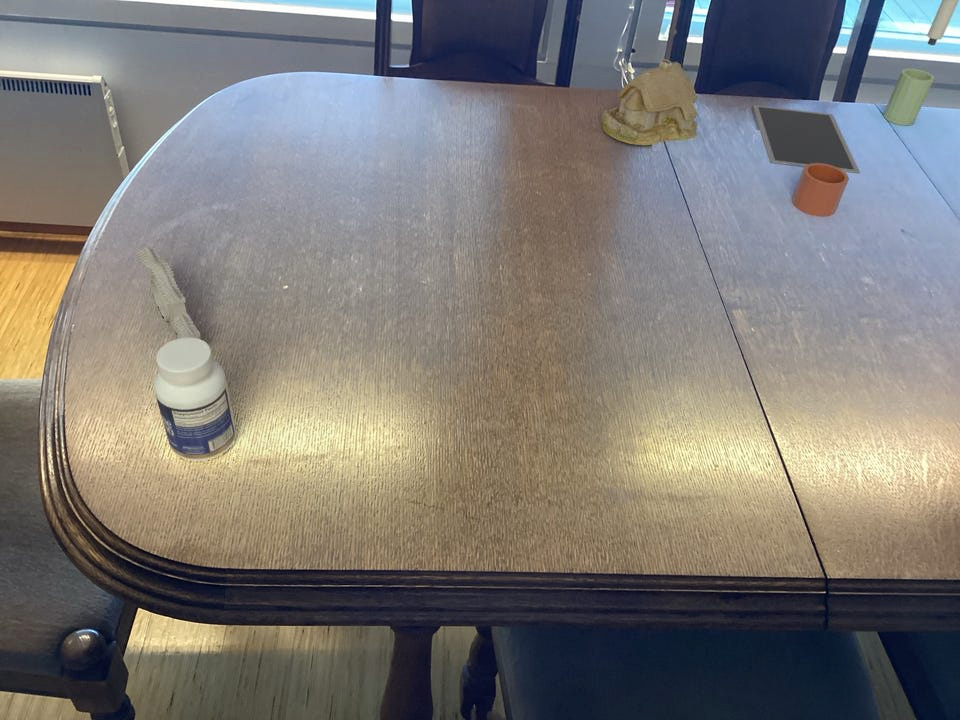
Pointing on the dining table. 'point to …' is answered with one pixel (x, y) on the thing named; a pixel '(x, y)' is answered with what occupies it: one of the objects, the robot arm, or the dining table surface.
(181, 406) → the pill bottle
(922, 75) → the pen cup
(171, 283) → the beige ridged long part
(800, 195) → the cup
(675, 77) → the ceramic model
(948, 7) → the stylus
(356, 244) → the dining table surface
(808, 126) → the tablet
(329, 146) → the dining table surface
